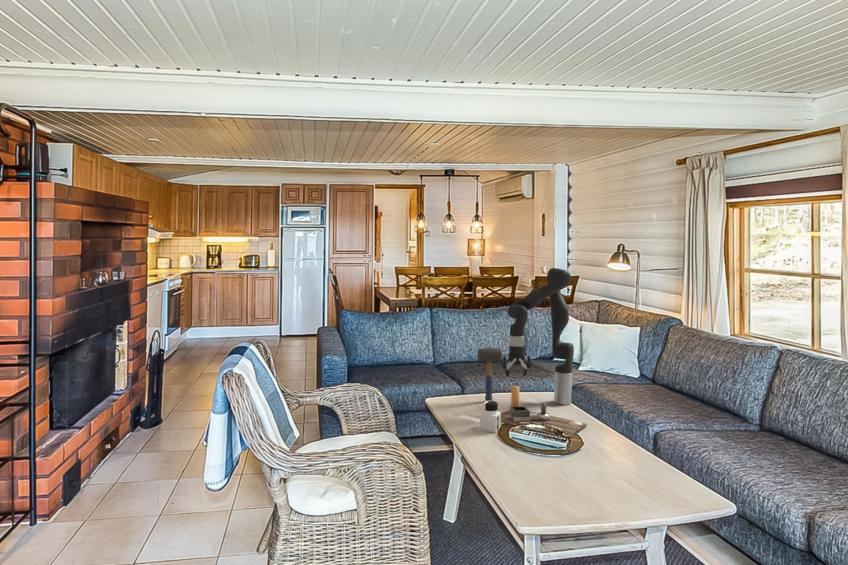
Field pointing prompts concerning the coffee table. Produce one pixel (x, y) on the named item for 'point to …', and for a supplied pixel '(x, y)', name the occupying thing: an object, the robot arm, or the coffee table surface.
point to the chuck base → (562, 423)
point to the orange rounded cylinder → (515, 396)
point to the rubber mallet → (489, 366)
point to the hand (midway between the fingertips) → (515, 376)
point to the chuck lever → (528, 414)
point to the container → (490, 417)
